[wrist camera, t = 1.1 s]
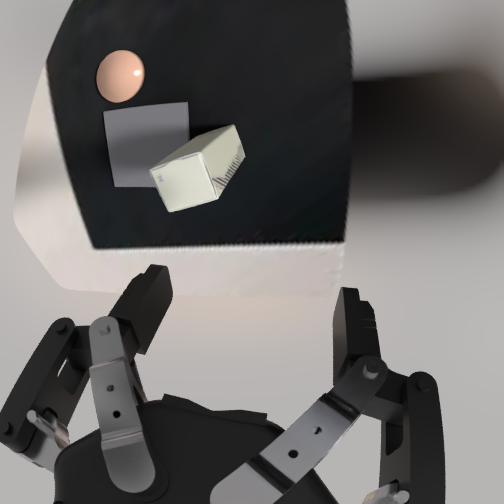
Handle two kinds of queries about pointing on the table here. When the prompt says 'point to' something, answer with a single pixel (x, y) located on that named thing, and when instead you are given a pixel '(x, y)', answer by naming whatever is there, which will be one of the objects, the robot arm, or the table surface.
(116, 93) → the glossy peach dome
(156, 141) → the mat
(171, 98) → the table surface
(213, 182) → the box
